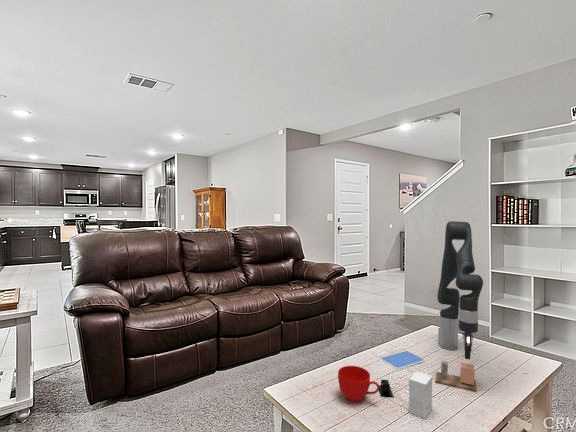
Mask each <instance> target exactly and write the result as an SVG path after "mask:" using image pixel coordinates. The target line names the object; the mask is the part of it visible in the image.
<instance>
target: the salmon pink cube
mask: <svg viewBox="0 0 576 432" xmlns="http://www.w3.org/2000/svg"><path fill="white" fill-rule="evenodd" d="M459 373H460V374H459V375H460V376H459V377H460V382H463V383H467V384H472V385H474V380H475V365H474V364H472V363H467V362H460V372H459Z"/></svg>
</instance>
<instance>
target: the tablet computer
mask: <svg viewBox="0 0 576 432" xmlns="http://www.w3.org/2000/svg"><path fill="white" fill-rule="evenodd" d="M380 360H381V361H382V362H383V363H385V364H388V366H390V367H392V368H394V369H396V370H398V371H399V370H402V369H404V368H408V367H412V366H415V365H418V364H421V363H425V362H426V360H425V359H424V358H422V357H420V356H418V355H416V354H413V353H412V352H409V351H408V350H405V351H402V352H398V353H394V354H391V355H387V356H384V357H380Z"/></svg>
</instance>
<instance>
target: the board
mask: <svg viewBox="0 0 576 432" xmlns="http://www.w3.org/2000/svg"><path fill="white" fill-rule="evenodd" d="M448 367H449V363H448V362H447V361H444V360H443V361H442V360H441V363H440V371H441V372H438V371H436V372H435V380H434V381H435V384H438V385H443V386H446V387H447V386H448V387H451V388H456V389H459V390H460V389H461V390H466V391H469V392H473V393H477V391H478V390H477V383H476V380H475V379H474V385H472V384H470V385H468V384H464V383H463V382H460V376H458V375H453V374H449V371H448V369H449V368H448Z"/></svg>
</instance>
